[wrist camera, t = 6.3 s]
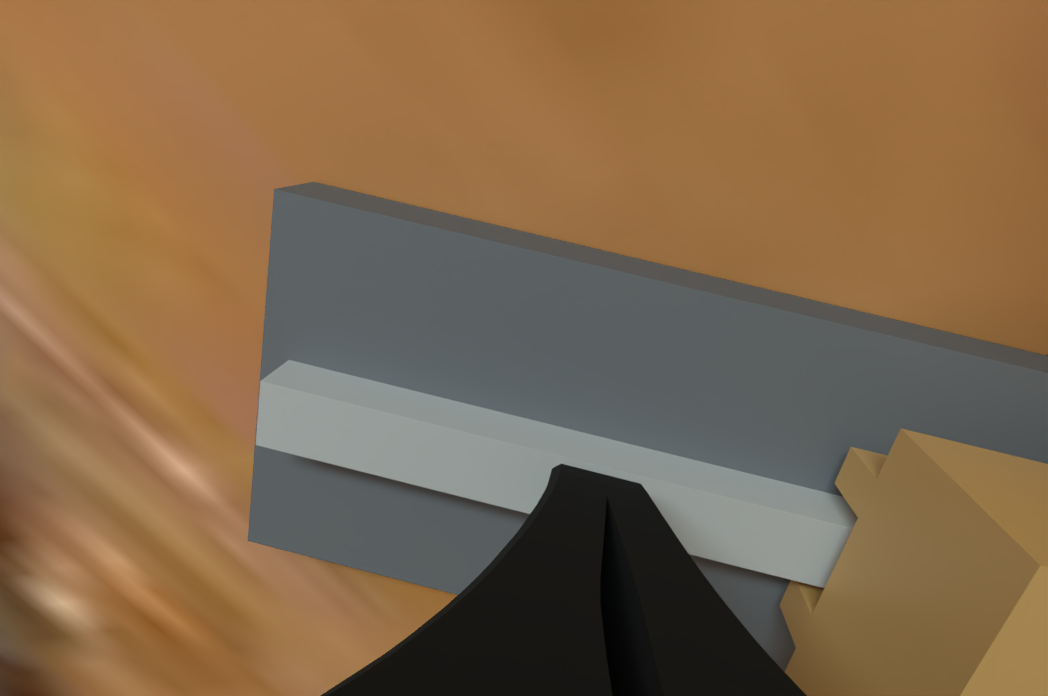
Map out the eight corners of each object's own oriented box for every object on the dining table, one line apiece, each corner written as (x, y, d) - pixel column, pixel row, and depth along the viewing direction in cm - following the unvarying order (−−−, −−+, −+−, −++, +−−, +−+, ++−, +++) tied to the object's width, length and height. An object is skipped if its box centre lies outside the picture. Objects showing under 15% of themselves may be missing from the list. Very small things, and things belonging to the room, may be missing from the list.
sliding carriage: (763, 640, 12) (842, 885, 8) (872, 400, 10) (1041, 564, 6) (979, 696, 11) (1165, 971, 8) (1126, 461, 10) (1459, 669, 6)
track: (283, 499, 14) (122, 687, 9) (313, 182, 12) (118, 216, 7) (1001, 682, 13) (1218, 978, 9) (1189, 389, 11) (1627, 581, 6)
